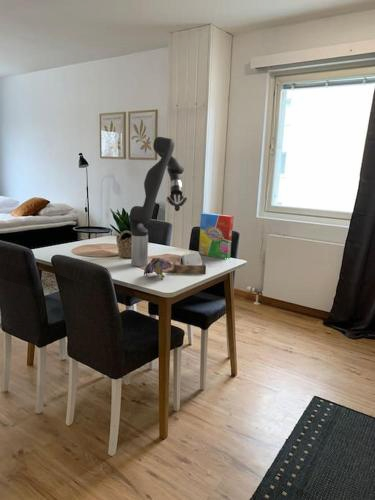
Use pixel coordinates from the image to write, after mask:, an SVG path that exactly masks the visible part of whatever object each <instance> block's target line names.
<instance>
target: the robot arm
mask: <svg viewBox="0 0 375 500" xmlns="http://www.w3.org/2000/svg"><path fill="white" fill-rule="evenodd" d="M175 143H176V142H175V141H174V139H173V138H169V137H163V136H157V137H155V139H154V141H153V145H152V147H153V148H152V149H153V151H154V152H155V154H157V155H158V156H159V157H160V159H159V161H158V162H156V163H155V164H154V165H153V166H152V167H151V168H150V169H149V170H147V173H146V175H145V178H144V182H143V188H144V194H145V197H144V198H145V199H144V202H143V205H142V206H141V205H140V206H139V205H135V206H133V207H132V208H131V209H130V212H129V226H130V228H129V229H130V232H131V254H130V255H131V257H130V258H131V259H130V260H131V261H130V266H132V267H133V266H134V267H146V266H147V265H148V264H149V261H148V260H149V257H148V256H149V251H148V250H149V230H148V229H147V228H146V227H145V226H144V225H146V224H149V222H150V221H151V219H152V216H153V212H154V208H155V202H156V200H157V197H158V193H159V190H160V188H161V186H162V185H161V184H162V182H163V179H164V175H165V172H166V170H167V173H168V175H169V179H170V185H169V186H170V187H169V191H170V194H169V196H167V197H166V201H167V203H169V204H170V205H171V206H172V207H174V210H175V212H179V211H180V207H182V206H183V205H184V204H185V203H186V202H187V200H188V198H187V197H185V196H184V195H183V184H182V183H183V182H182V176H181V175H182V174H183V173H184V171H185V169H184V165H183V164H182V163H181V162H180V161H178V160H177V157H176V156H175V155H174V154H173V152H174V150H175Z"/></svg>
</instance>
